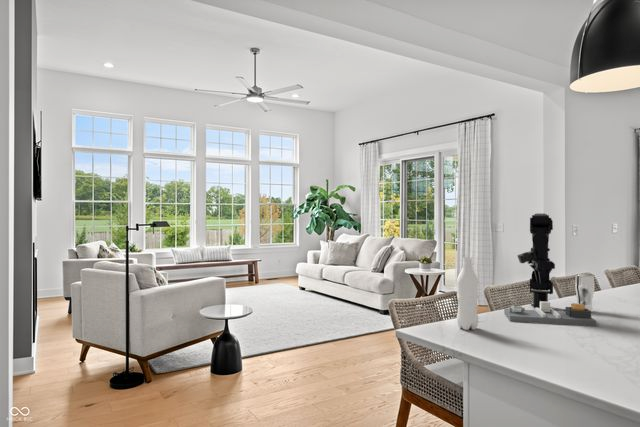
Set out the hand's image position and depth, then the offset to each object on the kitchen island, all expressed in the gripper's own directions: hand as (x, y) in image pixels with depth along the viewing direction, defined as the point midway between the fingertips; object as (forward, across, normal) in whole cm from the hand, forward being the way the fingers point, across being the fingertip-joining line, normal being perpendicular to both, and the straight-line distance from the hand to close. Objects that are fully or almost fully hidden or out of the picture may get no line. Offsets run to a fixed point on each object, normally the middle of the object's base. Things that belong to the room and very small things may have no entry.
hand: (540, 283), depth 178 cm
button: (+8, +11, +11) cm, 17 cm away
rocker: (+8, +11, -11) cm, 18 cm away
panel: (+12, +11, 0) cm, 16 cm away
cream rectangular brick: (+10, +7, 0) cm, 12 cm away
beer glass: (+12, -9, +19) cm, 24 cm away
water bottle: (+12, +32, -31) cm, 46 cm away
